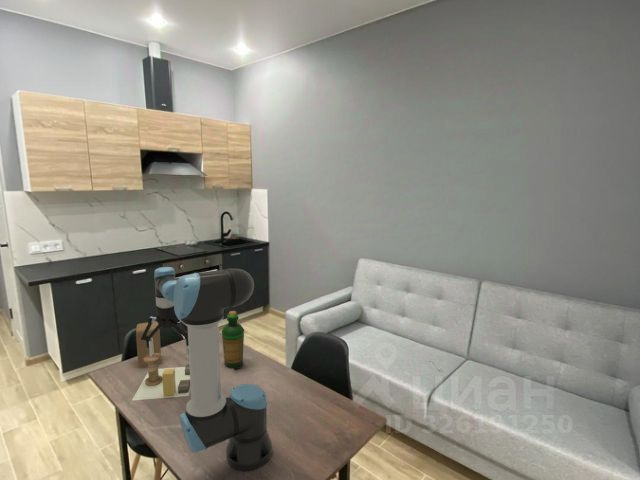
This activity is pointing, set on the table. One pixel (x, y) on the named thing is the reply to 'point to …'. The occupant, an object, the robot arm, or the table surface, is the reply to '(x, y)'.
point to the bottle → (233, 342)
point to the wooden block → (142, 345)
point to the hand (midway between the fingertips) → (169, 353)
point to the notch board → (184, 382)
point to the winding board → (161, 386)
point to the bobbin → (153, 369)
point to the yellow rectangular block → (169, 382)
